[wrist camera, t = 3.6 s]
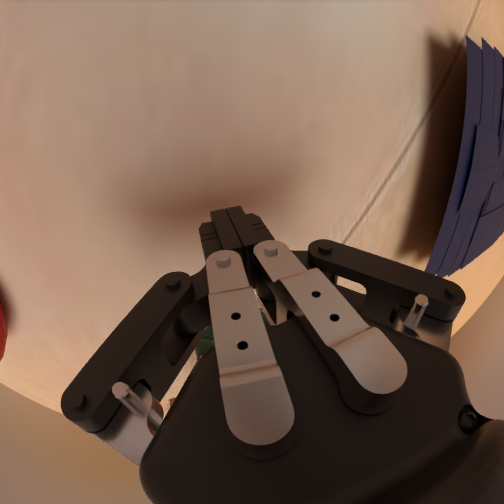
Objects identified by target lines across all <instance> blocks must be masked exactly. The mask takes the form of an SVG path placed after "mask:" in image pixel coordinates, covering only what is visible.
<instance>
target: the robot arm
mask: <svg viewBox="0 0 504 504" xmlns="http://www.w3.org/2000/svg"><path fill="white" fill-rule="evenodd" d="M210 216H211V222H206V223H202V224H201V226H200V228H199V233H200V238H201V243H202V248H203V253H204V257H205V261H206V264H205V266H204V268H203V269H202V270H201V271H200V272H198V273H196V274H195V275H192V276H189V275H188V274H187V273H184V272H171V273H168V274H166V275H164V276H162V277H161V278H160V279H159V280H158V281H157V282H156V283H155V284H154V285H153V286H152V288H151V289H150V290H149V291H148V292H147V293H146V294H145V295H144V296H143V298H142V299H141V300H140V301H139V302H138V303H137V304H136V305H135V307H134V308H133V309H132V310H131V311H130V312H129V313H128V315H127V316H126V317H125V318H124V319H123V320H122V321H121V323H120V324H119V325H118V326H117V327H116V328H115V330H114V331H113V332H112V333H111V334H110V335H109V337H108V338H107V339H106V340H105V341H104V343H103V344H102V345H101V346H100V347H99V349H98V350H97V351H96V352H95V353H94V355H93V356H92V357H91V358H90V360H89V361H88V362H87V363H86V364H85V366H84V367H83V368H82V369H81V371H80V372H79V373H78V374H77V376H76V377H75V378H74V380H73V381H72V382H71V383H70V385H69V386H68V387H67V389H66V390H65V391H64V393H63V395H62V398H61V409H62V412H63V414H64V415H65V417H67V418H68V419H69V420H71V421H72V422H73V423H75V424H76V425H78V426H79V427H80V428H81V429H82V430H83V431H85V432H86V433H88V434H89V435H91V436H93V437H94V438H96V439H97V440H99V441H101V442H103V443H106V444H108V445H109V446H110V447H112V448H113V449H115V450H116V451H117V452H119V453H120V454H121V455H123V456H124V457H126V458H127V459H129V460H130V461H131V462H133V463H135V464H136V465H138V466H139V467H140V469H139V475H140V481H141V484H142V487H143V489H144V491H145V493H146V495H147V496H148V498H149V499H150V500H151V501H152V503H153V504H504V420H494V419H489V418H486V417H484V416H482V415H480V414H479V413H478V412H477V411H476V410H475V409H474V408H473V406H472V404H471V402H470V399H469V397H468V393H467V390H466V386H465V380H464V375H463V372H462V369H461V367H460V364H459V363H458V361H457V360H456V359H455V358H454V357H453V356H452V355H451V354H450V353H449V352H448V351H449V345H450V338H451V331H452V323H453V321H454V320H455V318H456V316H457V315H458V313H459V311H460V309H461V307H462V306H463V304H464V302H465V299H466V296H465V293H464V291H463V289H462V288H461V287H460V286H459V285H457V284H456V283H454V282H452V281H449V280H446V279H443V278H441V277H438V276H435V275H432V274H430V273H427V272H424V271H421V270H418V269H415V268H413V267H410V266H407V265H404V264H401V263H398V262H395V261H392V260H389V259H386V258H383V257H380V256H377V255H374V254H371V253H368V252H365V251H362V250H359V249H356V248H353V247H350V246H347V245H344V244H340V243H337V242H334V241H331V240H325V239H321V240H316V241H313V242H311V243H310V244H309V246H308V251H292V250H290V249H289V248H288V247H287V246H286V245H285V244H284V243H282V242H280V241H276V240H275V239H274V238H273V236H272V235H271V233H270V232H269V230H268V229H267V228H266V226H265V224H264V223H263V221H262V220H261V218H260V217H259V216H257V215H255V214H253V213H251V214H245V213H244V211H243V209H242V208H241V206H236V207H231V208H226V209H221V210H216V211H211V212H210ZM338 276H340V277H343V278H346V279H348V280H351V281H354V282H357V283H360V284H362V285H363V286H364V287H365V288H366V292H367V293H366V294H361V293H358V292H356V291H353V290H350V289H348V288H345V287H342V286H339V285H337V279H338ZM253 289H256V292H257V300H258V303H259V305H260V307H261V309H262V310H263V312H264V314H265V316H266V318H267V319H268V321H269V323H270V325H268V326H265V325H264V322H263V319H262V316H261V313H260V309H259V306H258V303H257V300H256V297H255V293H254V290H253ZM210 325H212V327H213V334H214V341H215V346H213V347H212V348H210V349H209V350H208V351H206V352H205V353H204V354H203V355H202V356H201V358H200V359H199V360H198V361H197V363H196V364H195V366H194V368H193V369H192V371H191V373H190V374H189V376H188V378H187V380H186V381H185V383H184V385H183V387H182V388H181V390H180V392H179V394H178V395H177V397H176V399H175V401H174V402H173V404H172V406H171V408H170V409H169V411H168V413H167V414H166V416H165V418H164V420H163V416H164V412H163V408H162V406H161V404H160V402H161V400H162V398H163V397H164V395H165V394H166V392H167V391H168V389H169V388H170V386H171V385H172V383H173V382H174V380H175V379H176V377H177V375H178V374H179V372H180V371H181V369H182V368H183V366H184V365H185V363H186V362H187V360H188V359H189V357H190V355H191V354H192V352H193V351H194V349H195V348H196V346H197V345H198V343H199V342H200V340H201V338H202V337H203V335H204V333H205V328H206V327H208V326H210ZM162 420H163V421H162ZM161 422H162V423H161Z"/></svg>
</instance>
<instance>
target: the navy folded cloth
mask: <svg viewBox="0 0 504 504" xmlns="http://www.w3.org/2000/svg"><path fill="white" fill-rule="evenodd" d="M481 38H482V37H481ZM466 44H467V93H466V108H465V118H464V127H463V135H462V142H461V148H460V154H459V159H458V165H457V170H456V174H455V178H454V183H453V187H452V191H451V194H450V198H449V202H448V205H447V209H446V212H445V216H444V219H443V222H442V225H441V228H440V231H439V234H438V237H437V240H436V243H435V246H434V248H433V251H432V254H431V256H430V259H429V262H428V264H427V267H426V269H425V271H424V272H427V273H430V274H432V275H436V274H437V276H438V277H441V278H443V277H445V276H446V275H448V274H449V275H448V276H450V275H451V274H453V273H454V272H456V271H457V270H458V269H460V268H461V269H462V268H463V267H465V266H466V265H467V264H469V263H470V262H471V261H473V260H474V259H475V258H477V257H478V256H479V255H480V254H482V253H483V252H484V251H485V250H487V249H488V248H489V247H490V246H491V245H493V244H494V242H495V241H496V240H497V239H498V238H499V237H500V236H501V235H502V234H503V232H504V57H503V56H502V55H501V53H500V52H499V51H498V50H497V49H496V48H495V47H494V49H493V48H492V47H491V46H490V45H489V44H488V43H487V42H486V41H485V40H484V39H483V38H482V49H481V48H480V47H478V46H477V45H476V44H475V43H474V42H473V41H472V40H471V39H470V38H469V37H467V36H466ZM461 269H460V270H461Z"/></svg>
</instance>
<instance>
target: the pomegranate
mask: <svg viewBox="0 0 504 504" xmlns="http://www.w3.org/2000/svg"><path fill="white" fill-rule="evenodd" d="M6 338H7V323H6V320H5V315H4V311H3V307H2V305H1V303H0V361H1V359H2V358H3V355H4V351H5V344H6Z"/></svg>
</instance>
